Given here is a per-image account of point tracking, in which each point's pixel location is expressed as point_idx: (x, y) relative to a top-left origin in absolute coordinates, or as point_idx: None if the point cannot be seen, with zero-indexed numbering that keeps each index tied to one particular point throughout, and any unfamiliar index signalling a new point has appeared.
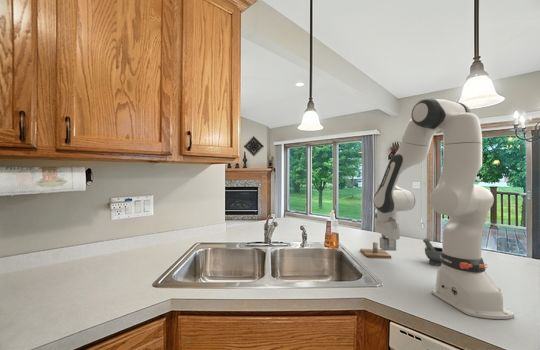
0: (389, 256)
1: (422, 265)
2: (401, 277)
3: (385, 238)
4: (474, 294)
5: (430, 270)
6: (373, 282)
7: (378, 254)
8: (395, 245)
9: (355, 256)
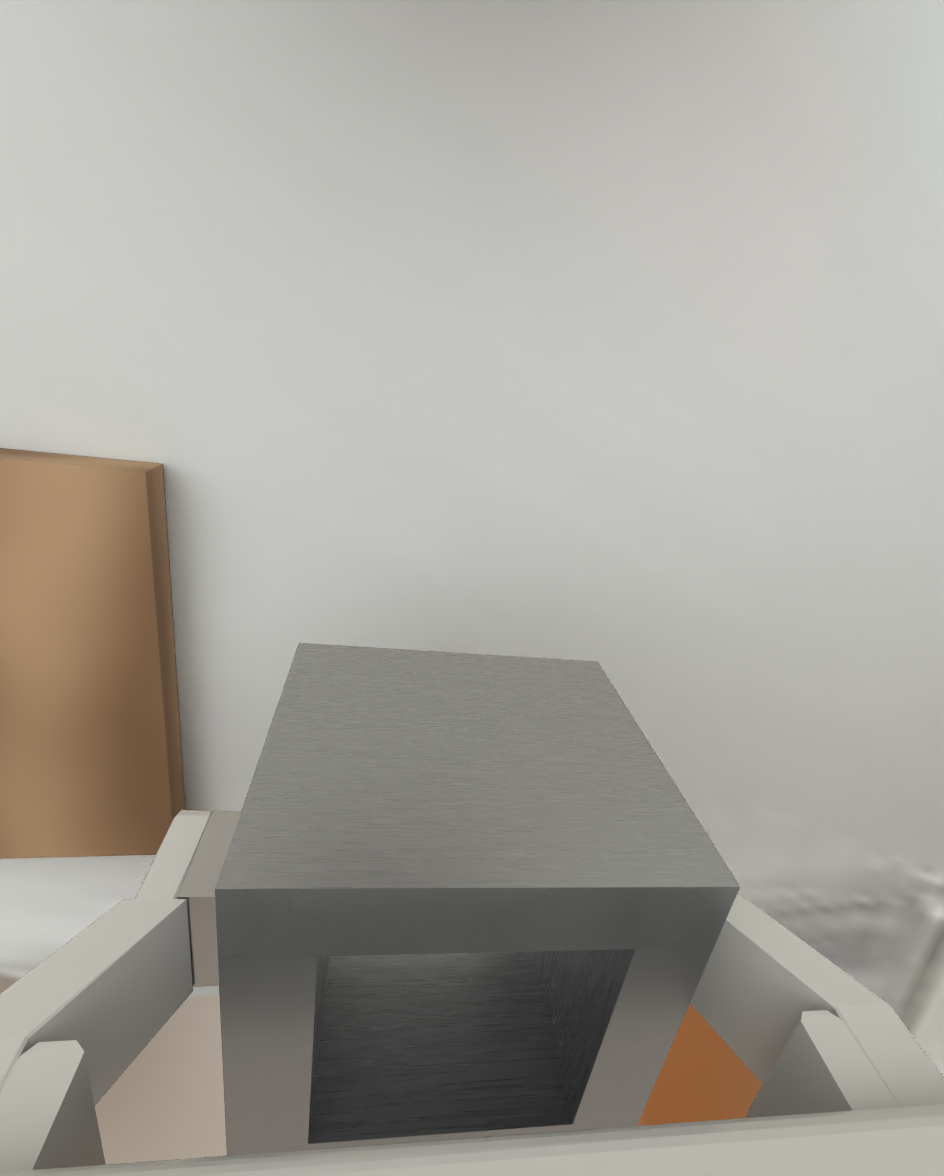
0: (151, 507)
1: (572, 24)
2: (889, 684)
3: (316, 1050)
4: None
5: (823, 80)
6: (891, 925)
7: (74, 673)
8: (641, 756)
9: None
